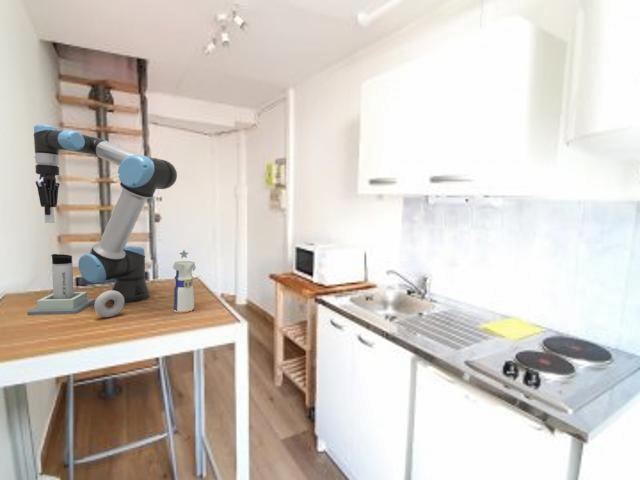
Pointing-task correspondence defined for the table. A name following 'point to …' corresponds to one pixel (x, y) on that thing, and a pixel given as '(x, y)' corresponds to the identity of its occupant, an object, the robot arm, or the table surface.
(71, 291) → the travel mug
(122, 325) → the table surface
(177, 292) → the water bottle
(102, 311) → the donut
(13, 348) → the table surface
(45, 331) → the table surface
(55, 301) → the dock
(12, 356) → the table surface
